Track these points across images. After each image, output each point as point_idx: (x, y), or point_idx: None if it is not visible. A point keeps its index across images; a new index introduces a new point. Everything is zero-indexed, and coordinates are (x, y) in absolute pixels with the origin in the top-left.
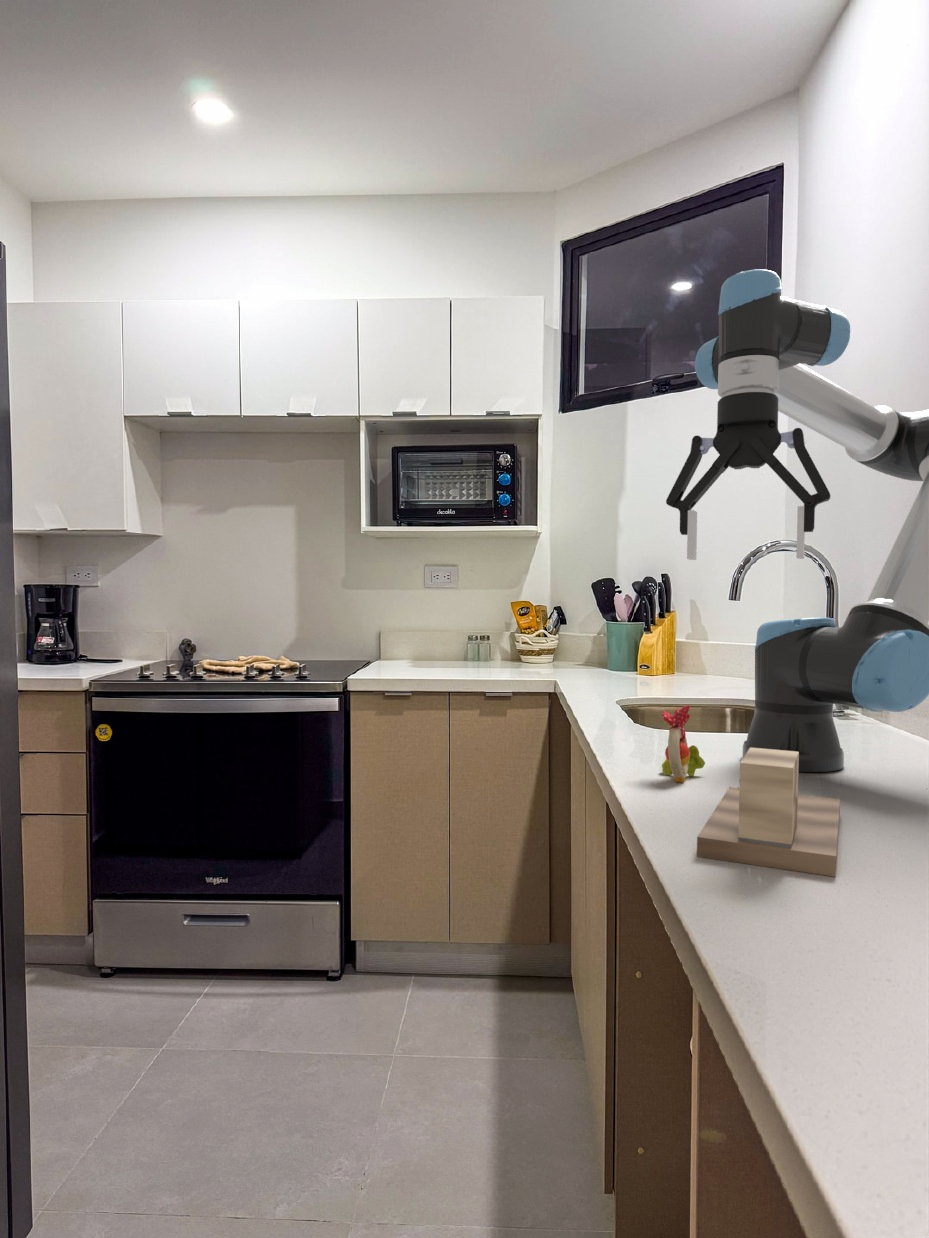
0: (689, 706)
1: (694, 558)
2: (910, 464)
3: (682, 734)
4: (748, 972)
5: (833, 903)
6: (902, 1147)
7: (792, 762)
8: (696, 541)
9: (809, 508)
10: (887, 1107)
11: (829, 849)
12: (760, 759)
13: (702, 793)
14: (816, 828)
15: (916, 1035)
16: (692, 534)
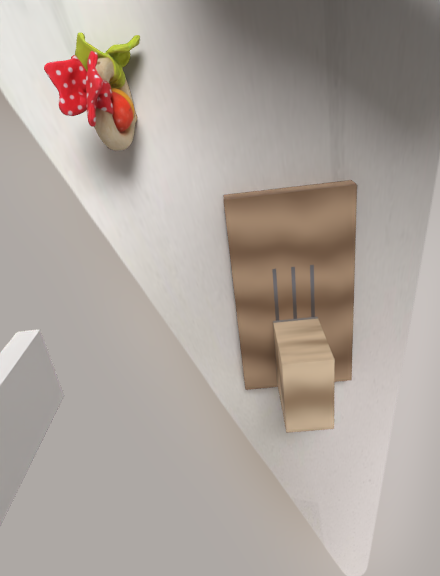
0: (101, 85)
1: (51, 366)
2: None
3: (112, 111)
4: (309, 499)
5: (345, 413)
6: (364, 557)
7: (331, 409)
8: (4, 381)
9: None
10: (362, 546)
11: (346, 368)
12: (301, 411)
13: (181, 167)
14: (334, 318)
15: (376, 511)
16: (22, 476)
